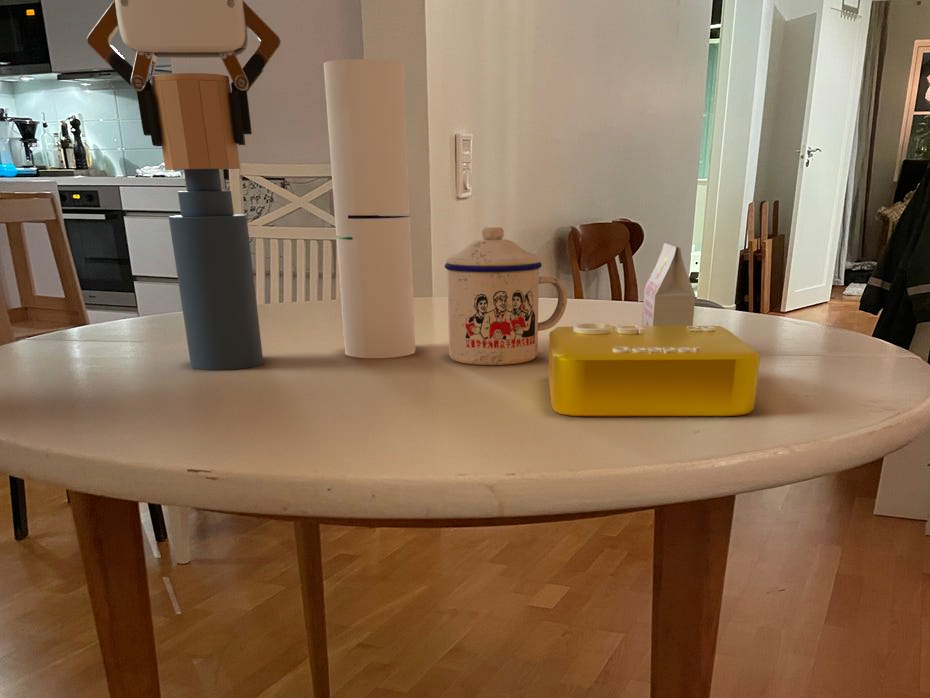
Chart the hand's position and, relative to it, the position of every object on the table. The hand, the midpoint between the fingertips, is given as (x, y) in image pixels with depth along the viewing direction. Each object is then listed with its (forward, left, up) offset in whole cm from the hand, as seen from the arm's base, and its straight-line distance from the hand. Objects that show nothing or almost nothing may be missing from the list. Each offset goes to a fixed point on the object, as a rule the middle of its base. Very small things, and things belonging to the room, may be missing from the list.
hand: (199, 143), depth 80 cm
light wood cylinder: (0, 0, -2) cm, 2 cm away
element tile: (+34, -23, -19) cm, 45 cm away
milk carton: (+42, -6, -19) cm, 46 cm away
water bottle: (0, 0, -19) cm, 19 cm away
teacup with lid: (+27, -3, -19) cm, 33 cm away
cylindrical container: (+15, +3, -19) cm, 24 cm away
